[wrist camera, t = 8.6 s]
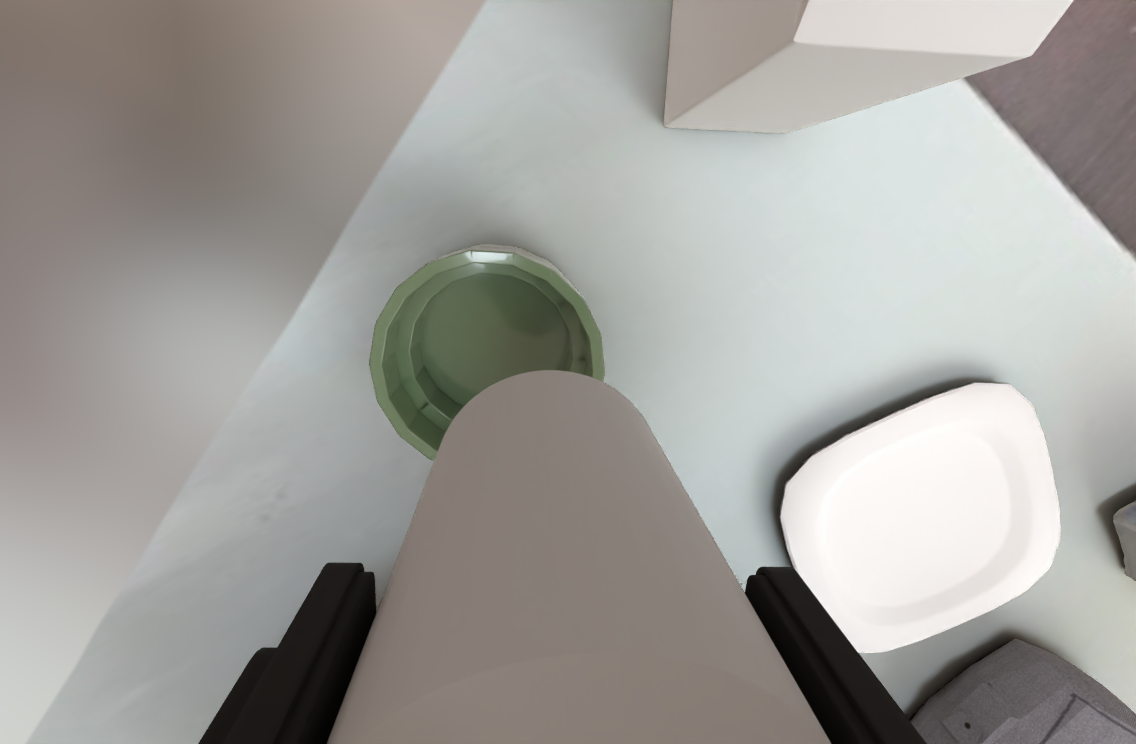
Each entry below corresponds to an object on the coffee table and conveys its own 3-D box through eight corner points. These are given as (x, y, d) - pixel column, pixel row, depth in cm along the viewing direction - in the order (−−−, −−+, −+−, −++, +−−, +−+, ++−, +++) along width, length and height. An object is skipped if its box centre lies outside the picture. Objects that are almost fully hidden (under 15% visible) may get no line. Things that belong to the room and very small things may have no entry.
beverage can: (594, 582, 17) (727, 1286, 6) (406, 512, 16) (120, 1227, 5) (690, 414, 16) (1101, 913, 5) (491, 324, 15) (376, 699, 3)
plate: (826, 660, 40) (839, 678, 39) (747, 465, 35) (758, 477, 34) (1054, 562, 40) (1077, 577, 38) (1007, 347, 34) (1032, 353, 33)
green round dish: (395, 237, 30) (364, 242, 24) (598, 251, 31) (615, 259, 25) (399, 426, 33) (372, 470, 27) (583, 432, 34) (595, 476, 28)
